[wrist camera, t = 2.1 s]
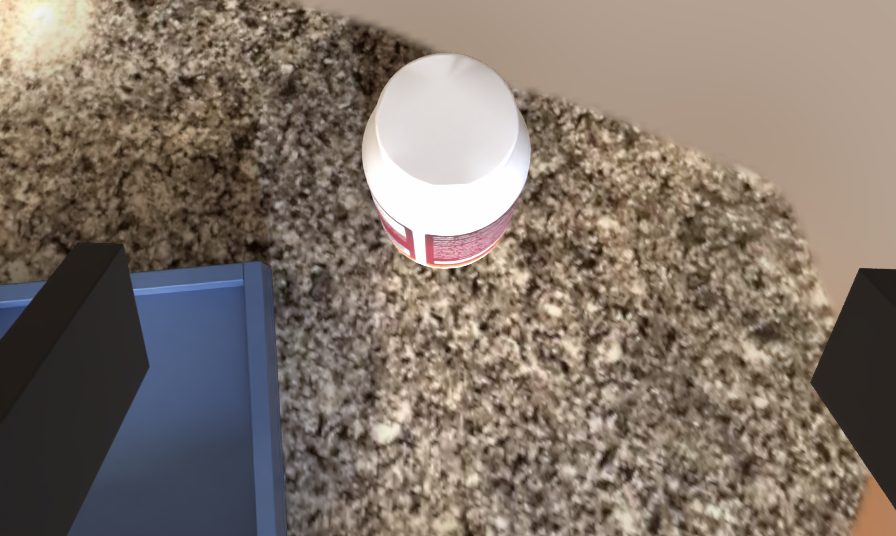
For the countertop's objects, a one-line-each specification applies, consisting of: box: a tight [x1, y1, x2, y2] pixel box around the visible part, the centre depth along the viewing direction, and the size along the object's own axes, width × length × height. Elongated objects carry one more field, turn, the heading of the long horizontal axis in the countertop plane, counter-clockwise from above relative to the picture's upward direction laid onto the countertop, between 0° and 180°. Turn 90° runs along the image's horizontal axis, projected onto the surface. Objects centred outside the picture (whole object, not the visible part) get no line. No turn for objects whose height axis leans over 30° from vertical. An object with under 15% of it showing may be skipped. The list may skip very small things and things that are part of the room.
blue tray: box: [0, 261, 287, 536], centre depth 31 cm, size 14×14×2 cm
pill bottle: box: [362, 53, 531, 268], centre depth 28 cm, size 6×6×11 cm
